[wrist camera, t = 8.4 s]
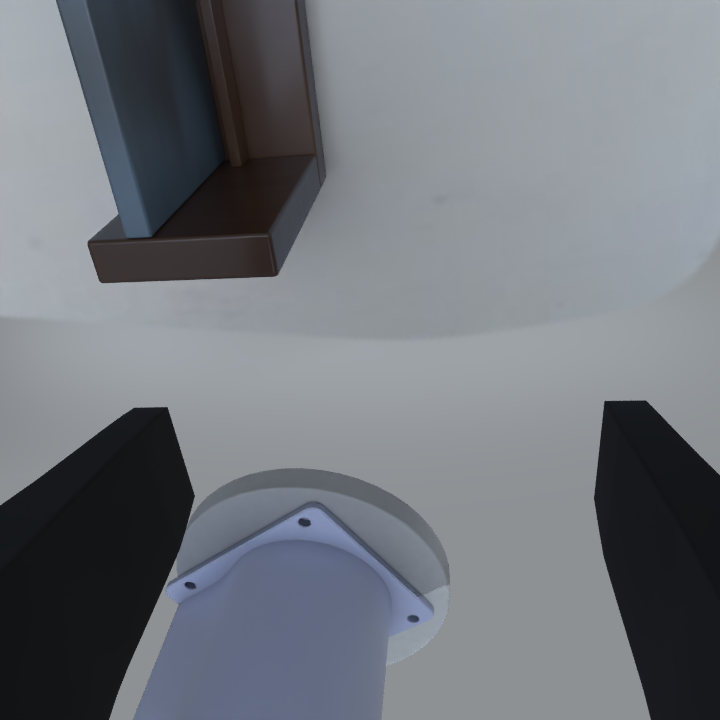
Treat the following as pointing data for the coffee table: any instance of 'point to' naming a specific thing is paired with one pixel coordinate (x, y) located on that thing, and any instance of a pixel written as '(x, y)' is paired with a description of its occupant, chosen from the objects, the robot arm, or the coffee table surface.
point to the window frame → (199, 133)
